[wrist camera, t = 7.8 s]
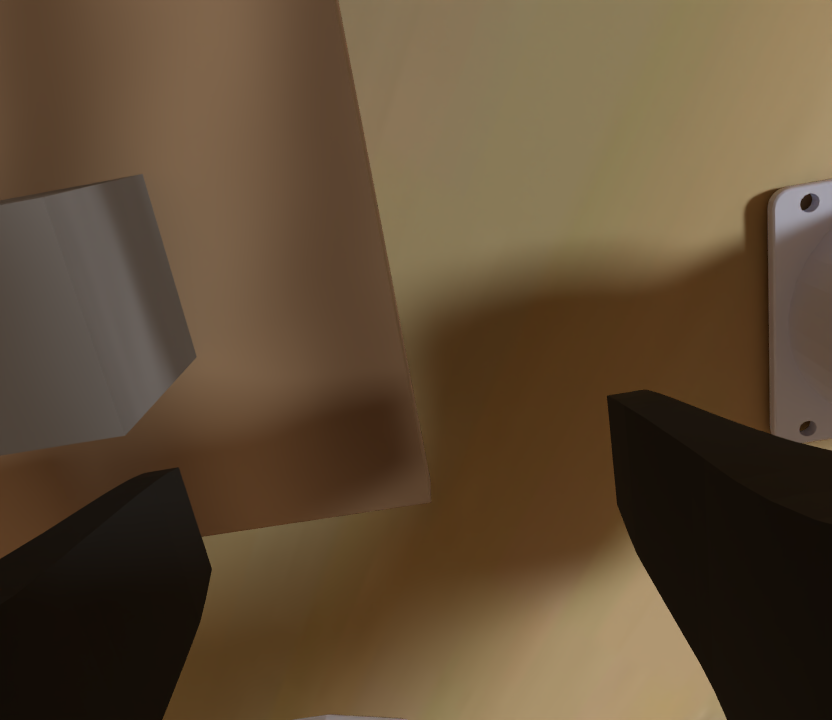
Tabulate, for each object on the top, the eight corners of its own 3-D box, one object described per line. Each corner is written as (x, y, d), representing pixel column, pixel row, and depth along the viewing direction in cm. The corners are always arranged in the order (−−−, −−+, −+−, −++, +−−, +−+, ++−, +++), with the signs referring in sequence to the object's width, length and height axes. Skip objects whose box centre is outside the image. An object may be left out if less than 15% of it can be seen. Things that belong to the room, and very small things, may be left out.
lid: (316, -112, 14) (259, -229, 9) (430, 481, 18) (433, 615, 13) (-305, 20, 14) (-658, -23, 10) (-56, 555, 19) (-218, 705, 14)
